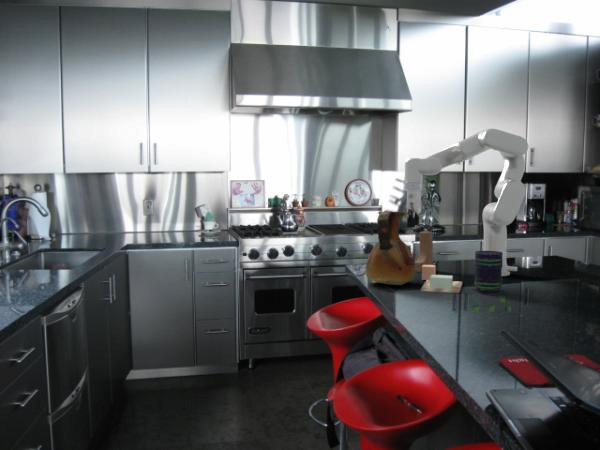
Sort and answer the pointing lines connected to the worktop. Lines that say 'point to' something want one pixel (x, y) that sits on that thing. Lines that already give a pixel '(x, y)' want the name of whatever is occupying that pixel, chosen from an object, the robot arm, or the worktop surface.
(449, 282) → the sage base brick
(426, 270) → the terracotta brick
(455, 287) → the build board
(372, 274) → the ceramic pitcher
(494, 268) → the storage jar
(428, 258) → the wooden block
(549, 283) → the worktop surface
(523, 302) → the worktop surface
